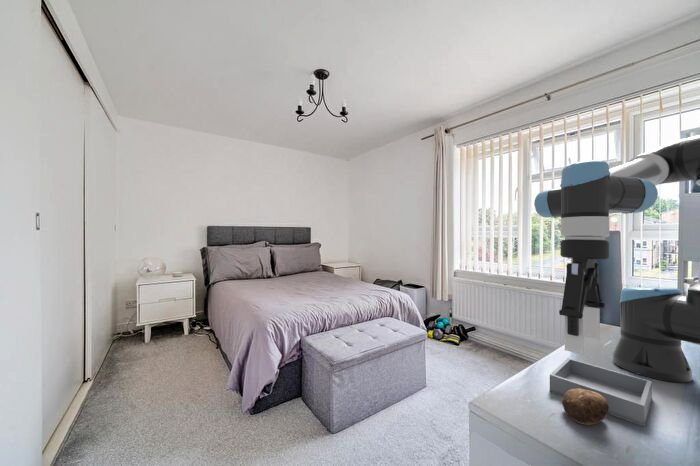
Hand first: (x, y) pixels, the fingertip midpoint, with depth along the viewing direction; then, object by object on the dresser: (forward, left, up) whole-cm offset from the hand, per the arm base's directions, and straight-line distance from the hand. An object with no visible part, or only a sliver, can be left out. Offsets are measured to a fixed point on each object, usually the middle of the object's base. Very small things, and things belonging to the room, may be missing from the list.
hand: (583, 344), depth 56 cm
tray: (-9, -11, -15) cm, 21 cm away
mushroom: (0, 0, -15) cm, 15 cm away
